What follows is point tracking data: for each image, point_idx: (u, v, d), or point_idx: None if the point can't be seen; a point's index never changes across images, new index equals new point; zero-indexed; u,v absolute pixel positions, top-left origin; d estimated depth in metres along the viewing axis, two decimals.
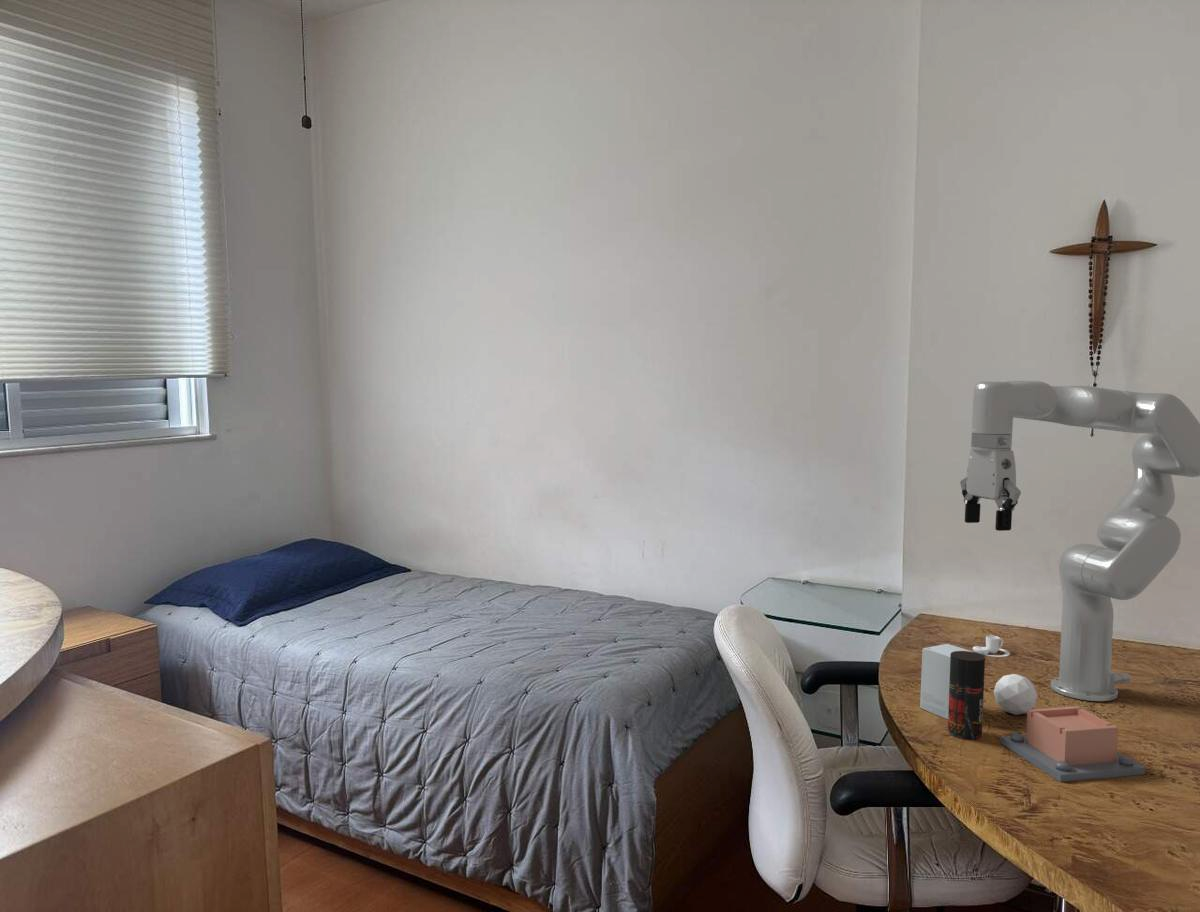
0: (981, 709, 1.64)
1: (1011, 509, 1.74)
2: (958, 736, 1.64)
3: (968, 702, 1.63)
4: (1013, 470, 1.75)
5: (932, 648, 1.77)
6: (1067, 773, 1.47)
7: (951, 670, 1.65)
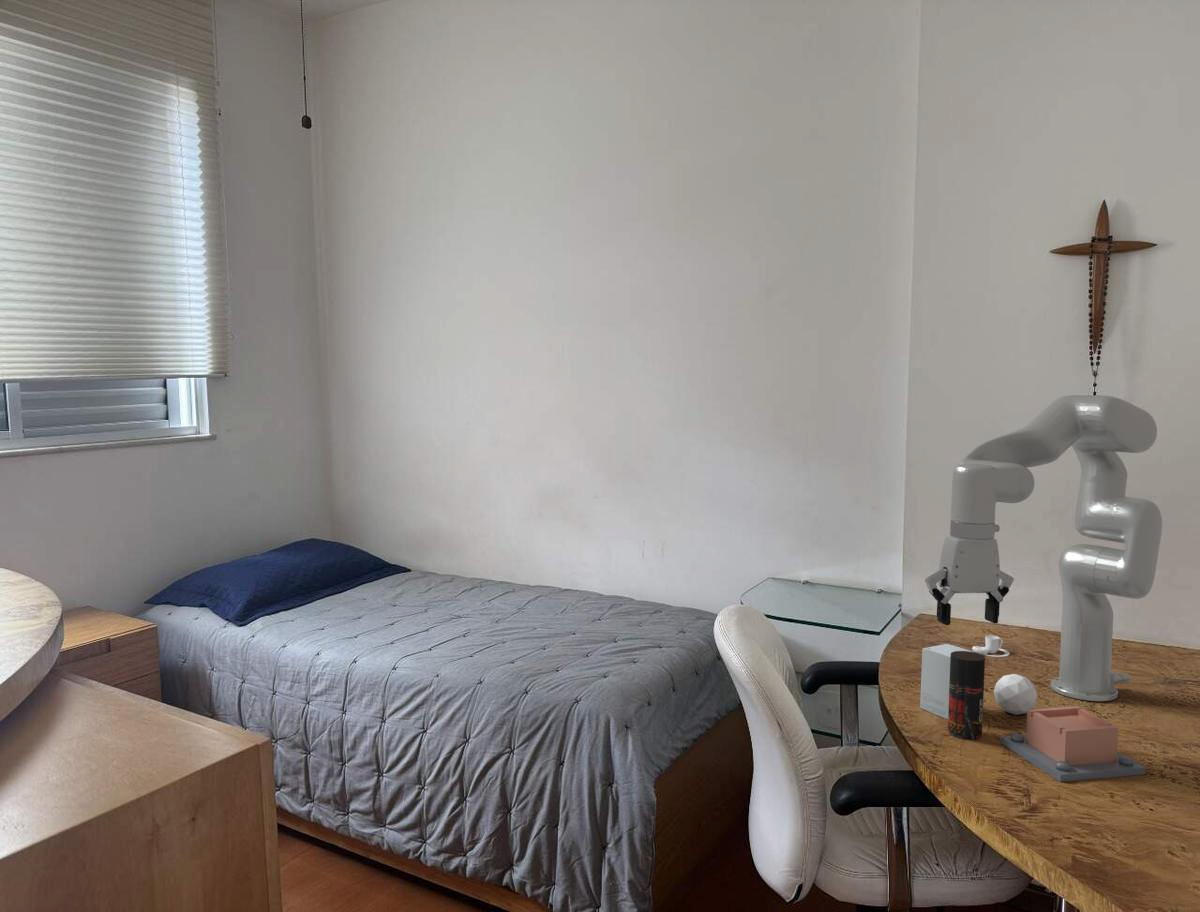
0: (981, 709, 1.64)
1: None
2: (958, 736, 1.64)
3: (968, 702, 1.63)
4: None
5: (932, 648, 1.77)
6: (1067, 773, 1.47)
7: (951, 670, 1.65)
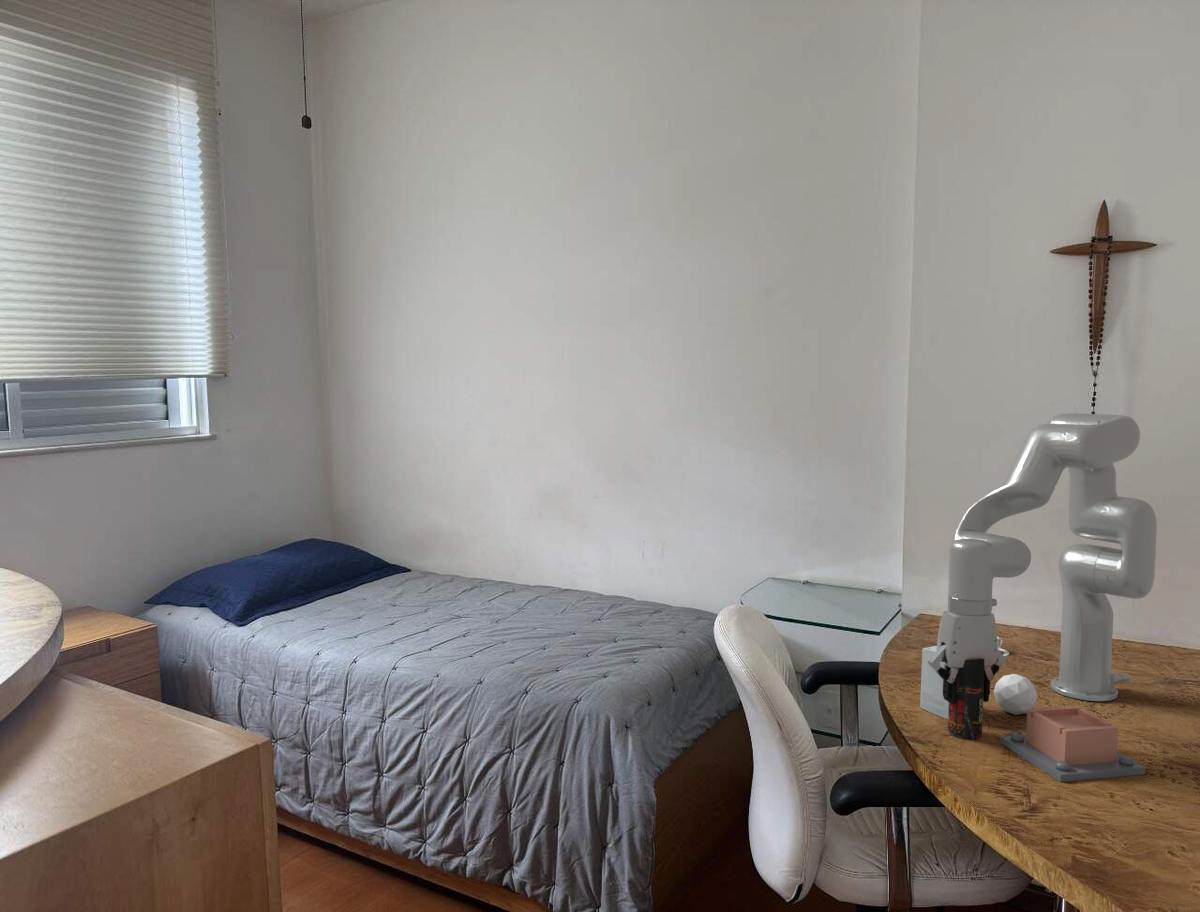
0: (981, 709, 1.64)
1: None
2: (958, 736, 1.64)
3: (968, 702, 1.63)
4: None
5: (932, 648, 1.77)
6: (1067, 773, 1.47)
7: None
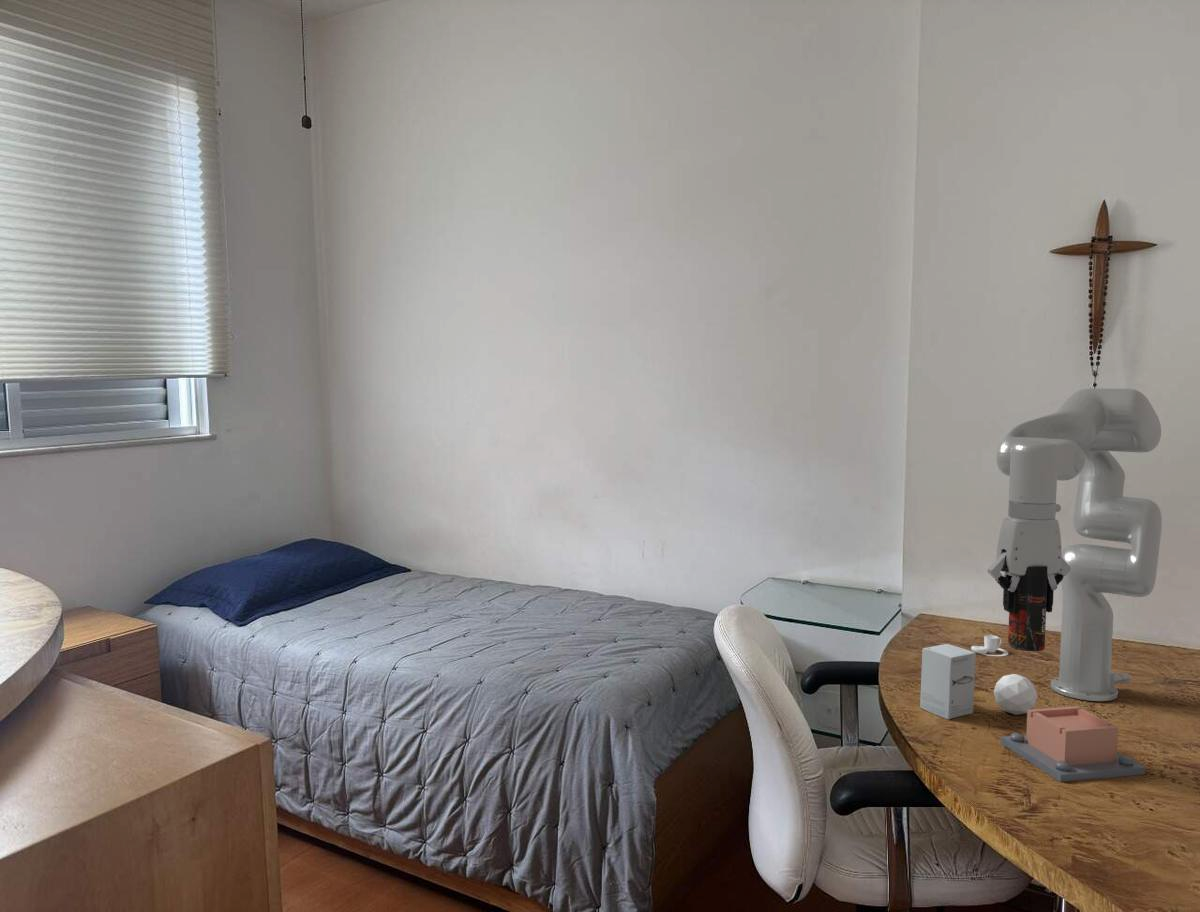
0: (1044, 619, 1.56)
1: None
2: (1019, 648, 1.57)
3: (1031, 611, 1.55)
4: None
5: (932, 648, 1.77)
6: (1067, 773, 1.47)
7: None
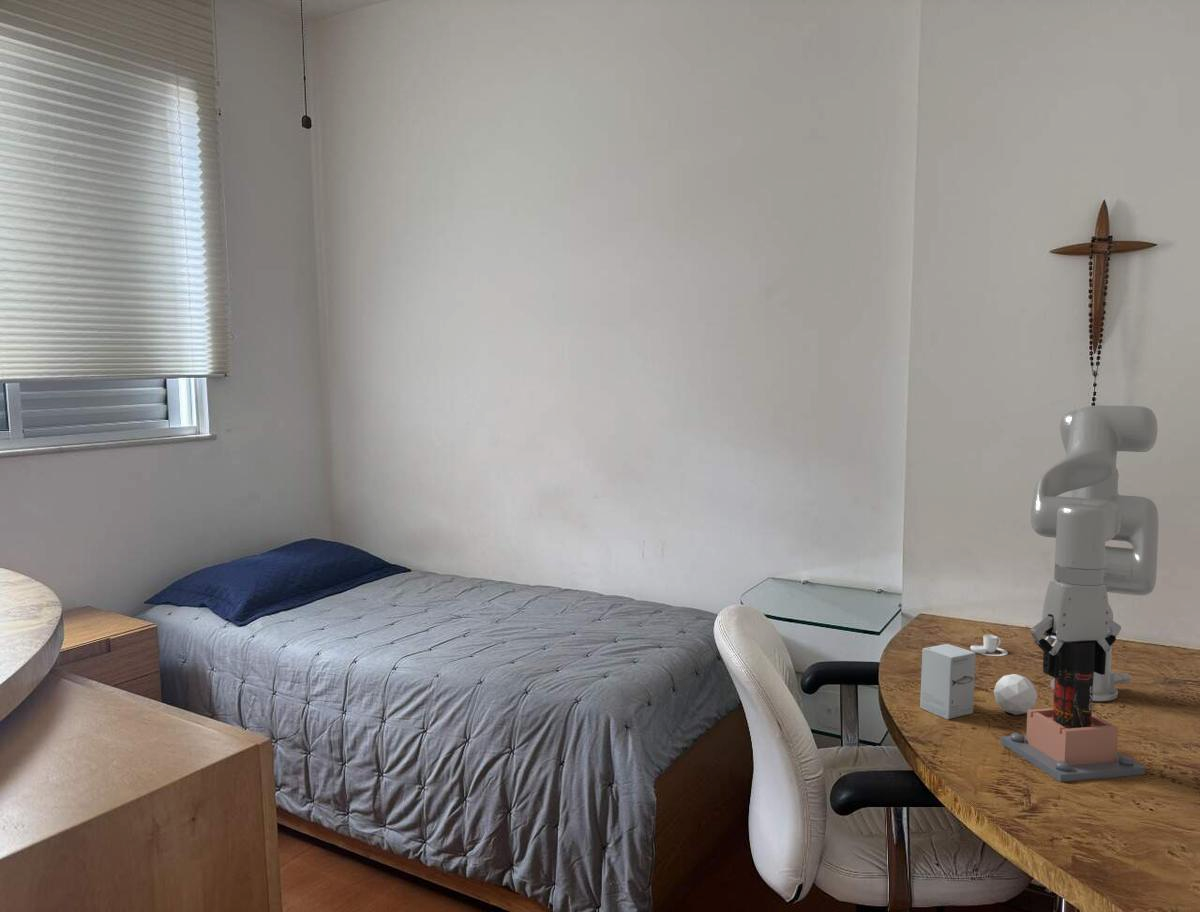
0: (1091, 697, 1.53)
1: None
2: (1066, 726, 1.53)
3: (1078, 689, 1.52)
4: None
5: (932, 648, 1.77)
6: (1067, 773, 1.47)
7: None
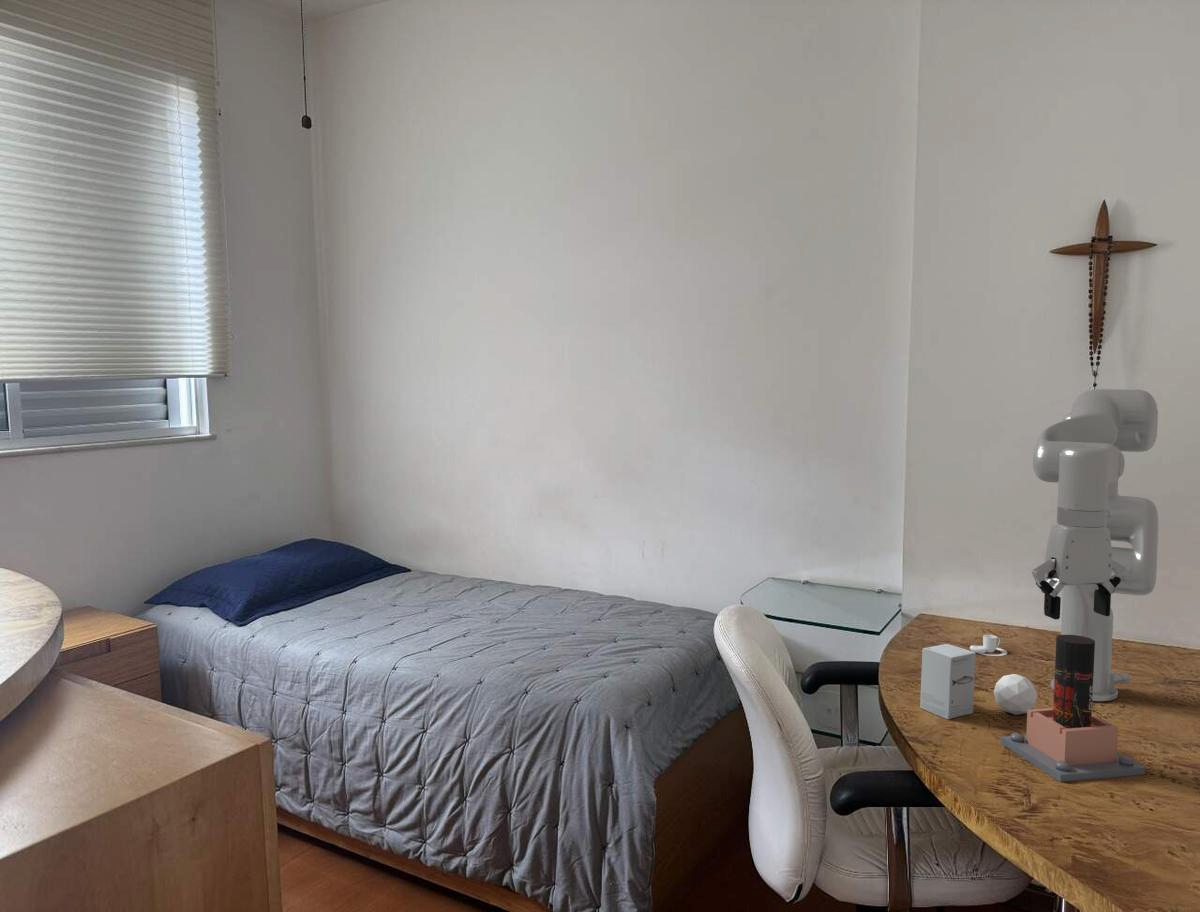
0: (1091, 696, 1.53)
1: None
2: (1066, 725, 1.53)
3: (1078, 689, 1.52)
4: None
5: (932, 648, 1.77)
6: (1067, 773, 1.47)
7: (1057, 654, 1.54)
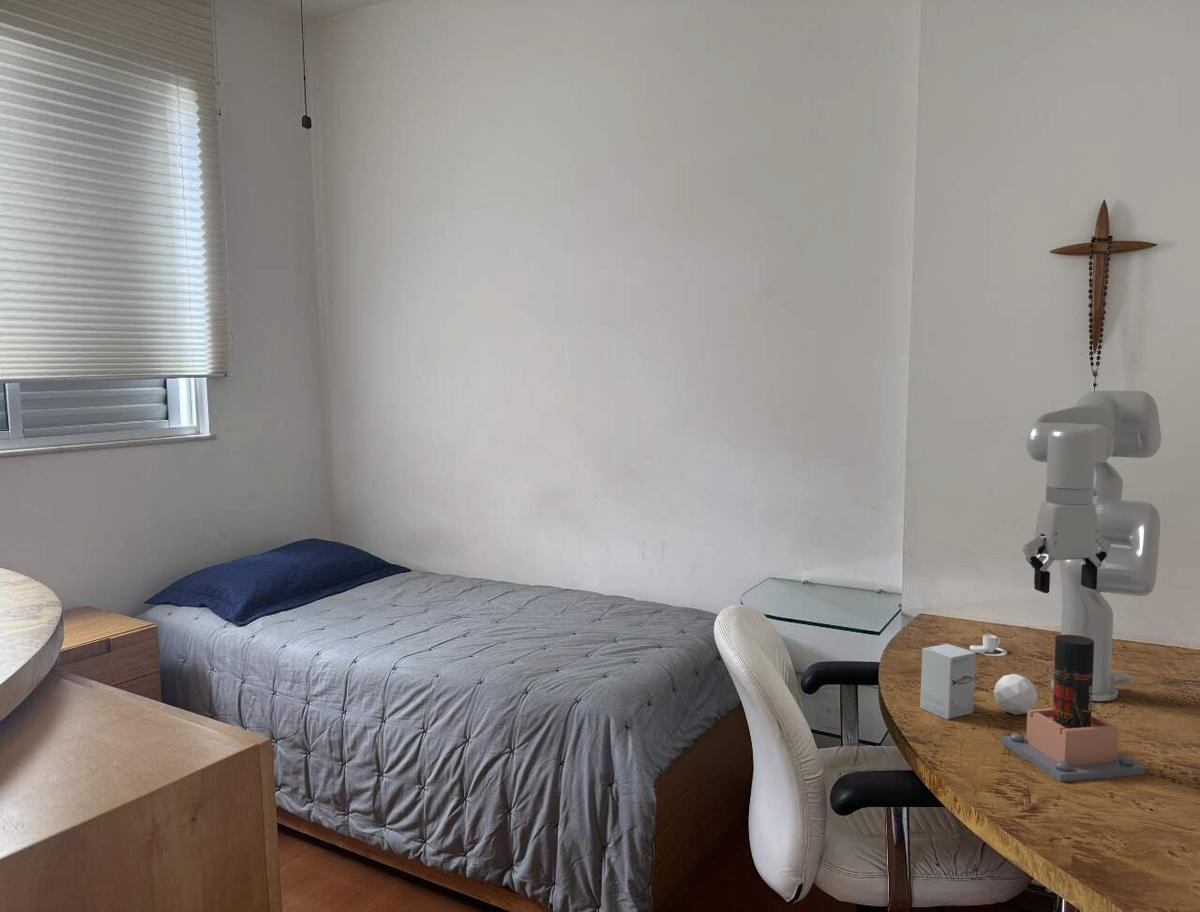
0: (1090, 697, 1.53)
1: None
2: (1066, 726, 1.53)
3: (1077, 689, 1.52)
4: None
5: (932, 648, 1.77)
6: (1067, 773, 1.47)
7: (1057, 655, 1.54)
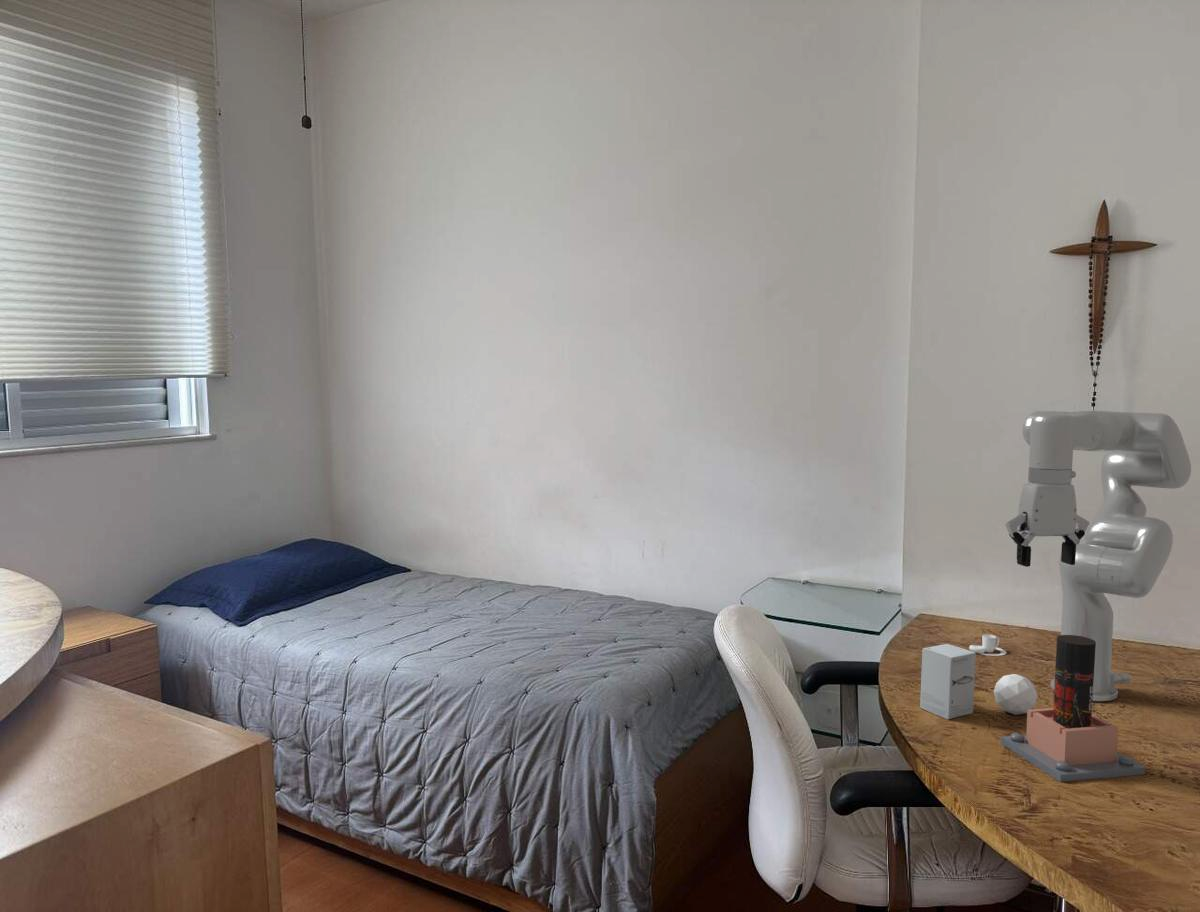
0: (1091, 697, 1.53)
1: None
2: (1066, 726, 1.53)
3: (1078, 689, 1.52)
4: None
5: (932, 648, 1.77)
6: (1067, 773, 1.47)
7: (1058, 655, 1.54)
